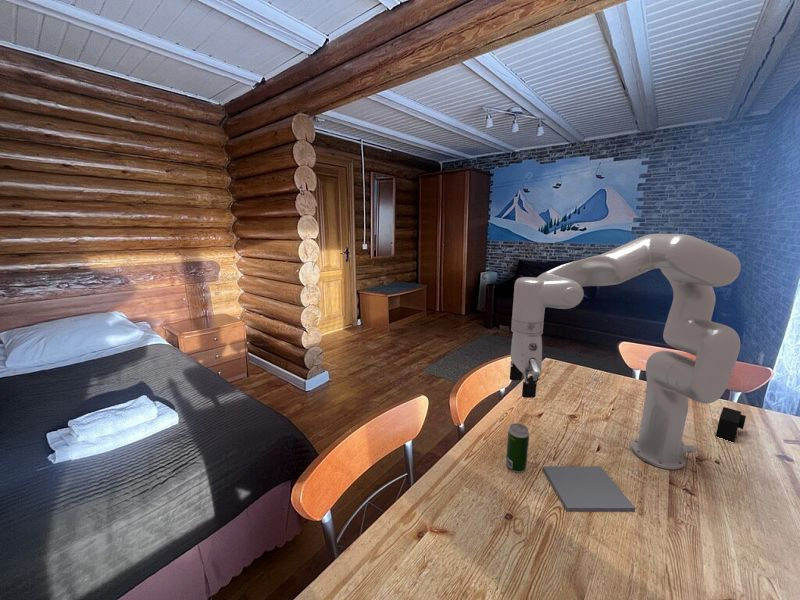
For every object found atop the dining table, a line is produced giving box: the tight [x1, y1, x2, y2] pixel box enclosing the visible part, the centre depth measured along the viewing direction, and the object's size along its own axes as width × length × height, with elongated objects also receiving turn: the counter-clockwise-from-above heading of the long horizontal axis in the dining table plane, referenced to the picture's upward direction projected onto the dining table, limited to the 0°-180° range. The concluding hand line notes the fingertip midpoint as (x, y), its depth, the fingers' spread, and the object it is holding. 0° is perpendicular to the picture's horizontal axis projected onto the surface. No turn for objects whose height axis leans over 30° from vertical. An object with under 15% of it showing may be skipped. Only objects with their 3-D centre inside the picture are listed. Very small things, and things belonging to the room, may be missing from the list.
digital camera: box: [715, 406, 747, 443], centre depth 106 cm, size 10×5×7 cm, turn 131°
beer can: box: [505, 422, 530, 474], centre depth 91 cm, size 5×5×12 cm
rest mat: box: [542, 465, 636, 513], centre depth 85 cm, size 16×14×1 cm
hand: (521, 388), depth 88 cm, fingers open, 9 cm apart
